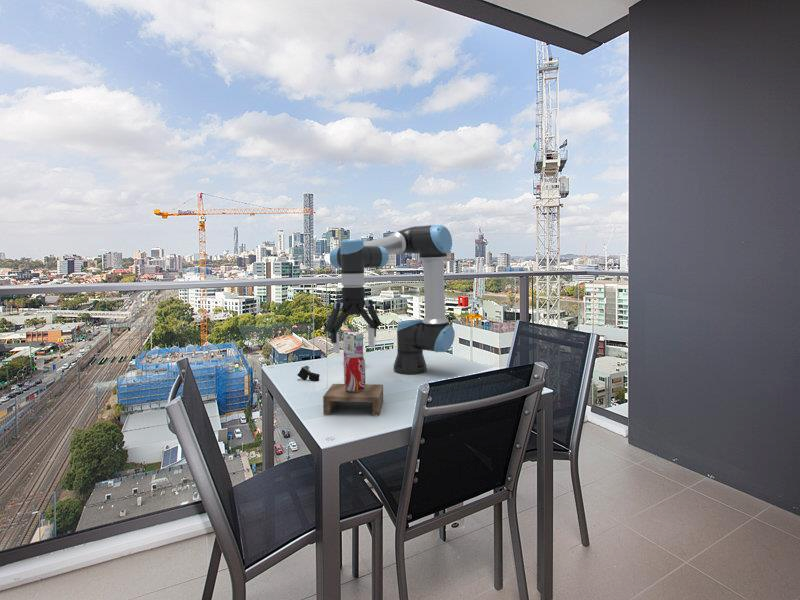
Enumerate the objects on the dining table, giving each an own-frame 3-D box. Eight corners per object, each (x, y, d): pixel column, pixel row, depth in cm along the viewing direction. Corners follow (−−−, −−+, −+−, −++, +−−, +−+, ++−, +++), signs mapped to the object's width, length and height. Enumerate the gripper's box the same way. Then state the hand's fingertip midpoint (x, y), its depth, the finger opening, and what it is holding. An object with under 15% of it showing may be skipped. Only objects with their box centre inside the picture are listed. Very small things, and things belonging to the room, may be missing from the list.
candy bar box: (364, 368, 190) (363, 333, 188) (355, 370, 187) (354, 335, 185) (352, 364, 199) (351, 330, 197) (343, 365, 196) (342, 331, 194)
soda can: (356, 394, 132) (356, 358, 131) (340, 391, 136) (339, 355, 135) (369, 388, 138) (369, 354, 137) (353, 385, 142) (352, 352, 141)
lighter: (315, 385, 172) (322, 375, 171) (313, 387, 169) (320, 376, 168) (299, 373, 173) (305, 363, 172) (296, 375, 171) (303, 364, 170)
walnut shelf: (383, 401, 144) (383, 384, 143) (378, 415, 130) (378, 397, 130) (333, 400, 145) (332, 383, 145) (323, 414, 131) (323, 396, 131)
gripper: (377, 284, 145) (378, 343, 147) (313, 287, 129) (315, 353, 131) (390, 285, 139) (391, 346, 141) (324, 288, 124) (326, 357, 126)
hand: (354, 349), depth 136 cm, fingers open, 13 cm apart
